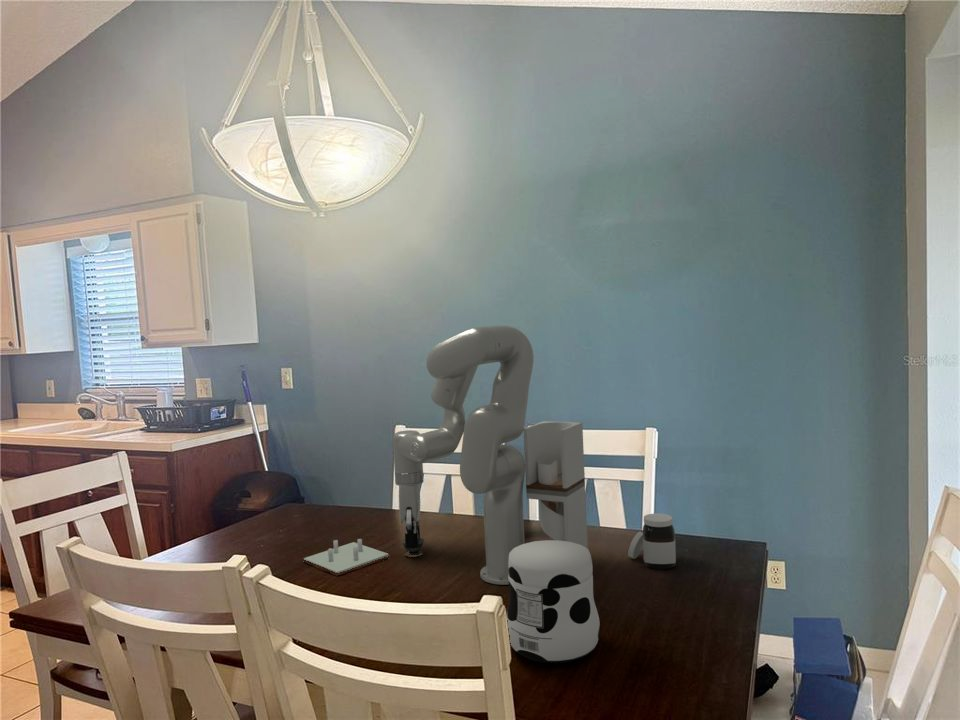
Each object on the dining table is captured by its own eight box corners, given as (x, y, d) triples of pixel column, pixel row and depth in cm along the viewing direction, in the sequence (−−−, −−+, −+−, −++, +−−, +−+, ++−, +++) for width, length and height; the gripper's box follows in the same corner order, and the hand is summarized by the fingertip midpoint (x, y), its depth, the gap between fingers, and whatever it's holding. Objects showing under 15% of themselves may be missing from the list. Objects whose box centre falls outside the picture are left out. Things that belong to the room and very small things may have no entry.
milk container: (590, 624, 134) (586, 535, 133) (610, 669, 117) (606, 567, 116) (504, 629, 134) (499, 541, 133) (511, 675, 116) (506, 573, 115)
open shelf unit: (549, 554, 175) (543, 421, 173) (588, 560, 169) (582, 422, 167) (530, 569, 165) (523, 428, 163) (570, 576, 159) (563, 430, 157)
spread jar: (677, 572, 159) (676, 523, 158) (628, 571, 161) (626, 523, 160) (673, 554, 170) (672, 509, 170) (628, 553, 173) (626, 509, 172)
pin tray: (389, 558, 178) (388, 542, 178) (337, 576, 167) (336, 559, 166) (353, 546, 189) (353, 530, 189) (303, 562, 178) (302, 546, 178)
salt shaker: (413, 549, 184) (411, 505, 184) (429, 552, 181) (426, 508, 180) (398, 555, 180) (395, 511, 179) (413, 559, 176) (411, 514, 175)
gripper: (398, 471, 188) (402, 534, 189) (391, 486, 170) (395, 555, 171) (425, 469, 188) (429, 533, 189) (420, 484, 170) (424, 554, 171)
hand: (413, 543), depth 180 cm, fingers closed on salt shaker, 5 cm apart
